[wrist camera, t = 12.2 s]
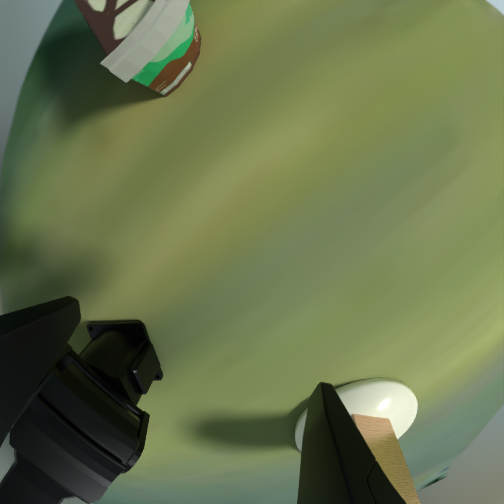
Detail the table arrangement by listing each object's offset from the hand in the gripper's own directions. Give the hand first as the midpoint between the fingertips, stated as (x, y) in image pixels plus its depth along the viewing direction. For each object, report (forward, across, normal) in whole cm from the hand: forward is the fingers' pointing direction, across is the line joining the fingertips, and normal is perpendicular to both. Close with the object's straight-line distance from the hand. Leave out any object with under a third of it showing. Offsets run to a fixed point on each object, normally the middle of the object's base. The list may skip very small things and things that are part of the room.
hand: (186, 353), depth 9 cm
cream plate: (+12, -17, +17) cm, 27 cm away
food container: (+14, +10, -14) cm, 22 cm away
